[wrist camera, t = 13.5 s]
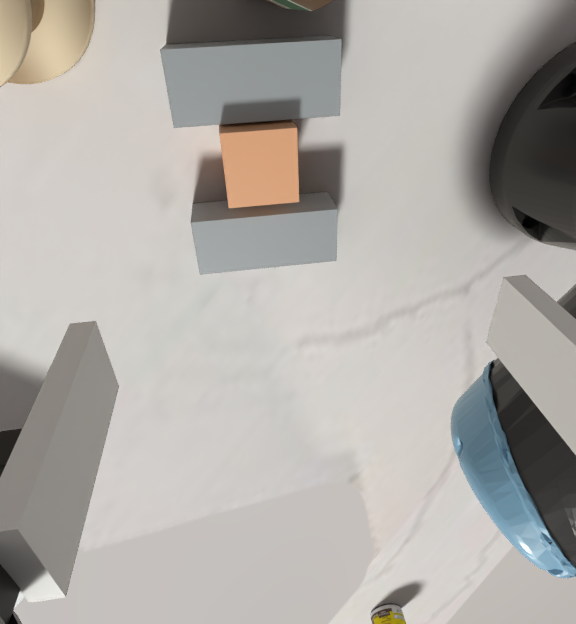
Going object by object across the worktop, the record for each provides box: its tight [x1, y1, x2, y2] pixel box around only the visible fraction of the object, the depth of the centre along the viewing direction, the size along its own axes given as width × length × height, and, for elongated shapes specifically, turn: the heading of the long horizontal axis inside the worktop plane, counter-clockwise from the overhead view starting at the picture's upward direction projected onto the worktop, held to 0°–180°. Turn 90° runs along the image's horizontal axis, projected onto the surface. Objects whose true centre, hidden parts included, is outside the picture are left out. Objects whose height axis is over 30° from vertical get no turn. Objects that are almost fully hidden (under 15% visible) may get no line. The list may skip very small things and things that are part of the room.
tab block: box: [219, 119, 299, 208], centre depth 29 cm, size 4×4×5 cm
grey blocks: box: [160, 35, 342, 275], centre depth 30 cm, size 10×14×4 cm
